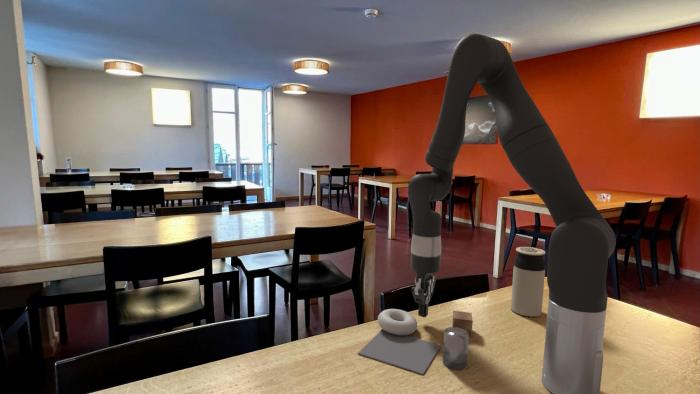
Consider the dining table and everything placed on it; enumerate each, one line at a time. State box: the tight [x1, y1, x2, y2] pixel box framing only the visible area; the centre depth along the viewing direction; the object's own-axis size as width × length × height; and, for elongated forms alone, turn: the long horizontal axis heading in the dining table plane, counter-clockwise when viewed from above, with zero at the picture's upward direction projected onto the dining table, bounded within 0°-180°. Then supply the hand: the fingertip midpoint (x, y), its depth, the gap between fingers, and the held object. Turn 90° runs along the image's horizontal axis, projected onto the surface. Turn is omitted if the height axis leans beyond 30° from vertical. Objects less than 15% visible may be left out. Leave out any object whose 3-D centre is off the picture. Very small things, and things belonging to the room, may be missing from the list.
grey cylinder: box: [442, 326, 470, 372], centre depth 78 cm, size 5×5×7 cm
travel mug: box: [510, 246, 546, 318], centre depth 104 cm, size 8×8×18 cm
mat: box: [357, 328, 442, 376], centre depth 84 cm, size 15×13×1 cm
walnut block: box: [451, 310, 474, 339], centre depth 92 cm, size 4×4×4 cm
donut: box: [377, 308, 418, 336], centre depth 93 cm, size 10×4×10 cm
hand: (423, 315), depth 97 cm, fingers closed
